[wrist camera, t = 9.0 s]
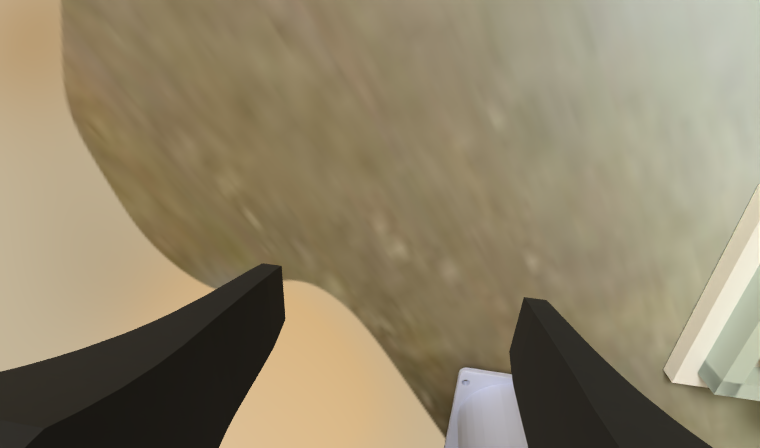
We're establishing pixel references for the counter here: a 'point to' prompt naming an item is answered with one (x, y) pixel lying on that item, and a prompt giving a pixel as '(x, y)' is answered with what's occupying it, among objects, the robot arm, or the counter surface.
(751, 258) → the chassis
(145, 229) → the counter surface
